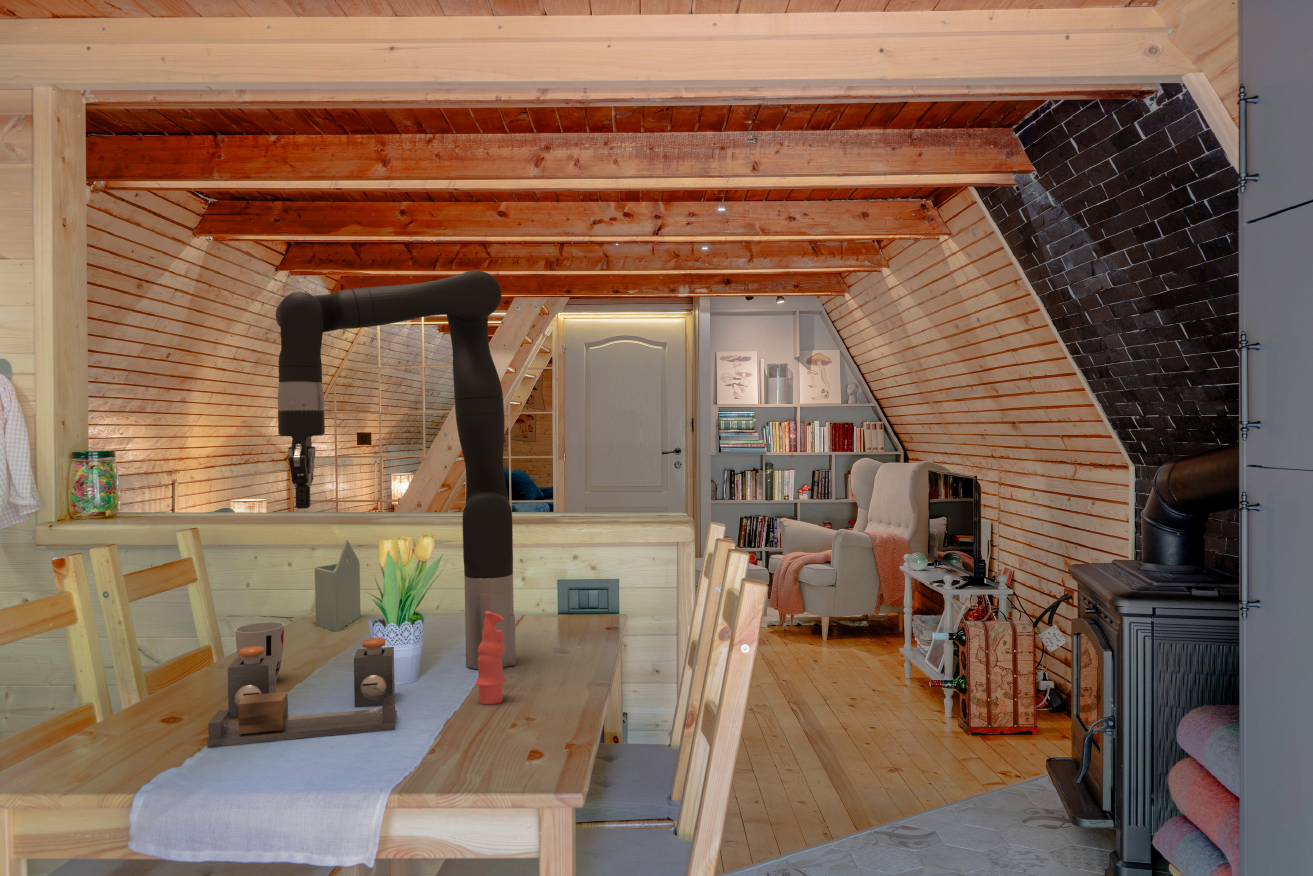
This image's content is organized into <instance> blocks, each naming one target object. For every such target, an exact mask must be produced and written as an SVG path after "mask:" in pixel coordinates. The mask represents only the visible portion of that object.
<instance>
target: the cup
mask: <svg viewBox="0 0 1313 876" xmlns="http://www.w3.org/2000/svg"><path fill="white" fill-rule="evenodd" d="M234 635H235V646H236V654H237V658H244V657H241V656H240V649H242V648H246V647H253V646H261V647H264V653H263V654H261V655H260V656H274V655H275V666H276V681H277V678H278V676H279V672H280V669H281V665H282V658H283V652H284V640H285V639H284V638H285V637H284V635H285V624H284V623H282V622H276V621H273V622H272V621H268V622H265V621H264V622H257V623H250V624H245V625H241V626H239V627H236V628H234Z"/></svg>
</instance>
